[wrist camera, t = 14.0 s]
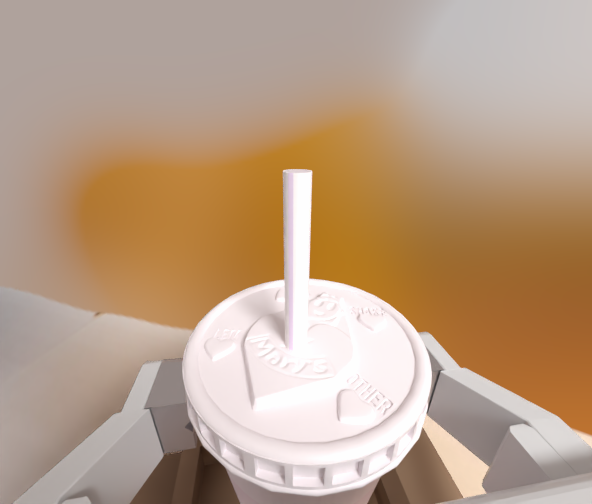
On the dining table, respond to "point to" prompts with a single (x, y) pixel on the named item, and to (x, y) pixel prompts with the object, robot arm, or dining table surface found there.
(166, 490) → the tray
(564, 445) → the robot arm
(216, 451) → the smoothie
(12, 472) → the dining table surface
